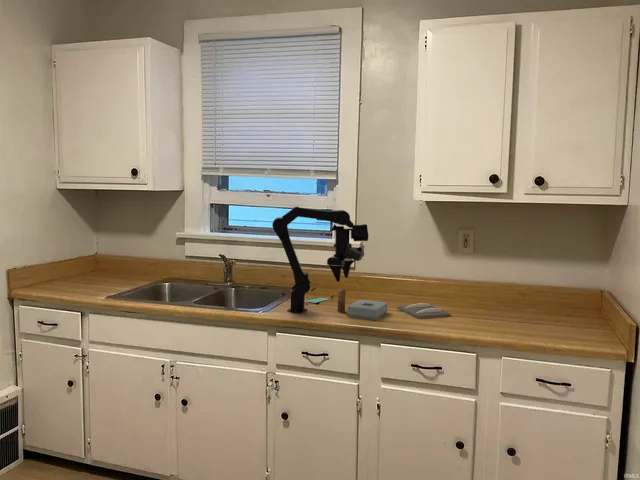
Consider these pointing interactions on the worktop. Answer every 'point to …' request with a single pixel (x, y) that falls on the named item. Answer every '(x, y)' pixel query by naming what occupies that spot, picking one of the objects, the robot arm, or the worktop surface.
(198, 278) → the worktop surface
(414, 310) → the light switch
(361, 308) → the hole block
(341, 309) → the dowel
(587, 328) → the worktop surface
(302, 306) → the robot arm
